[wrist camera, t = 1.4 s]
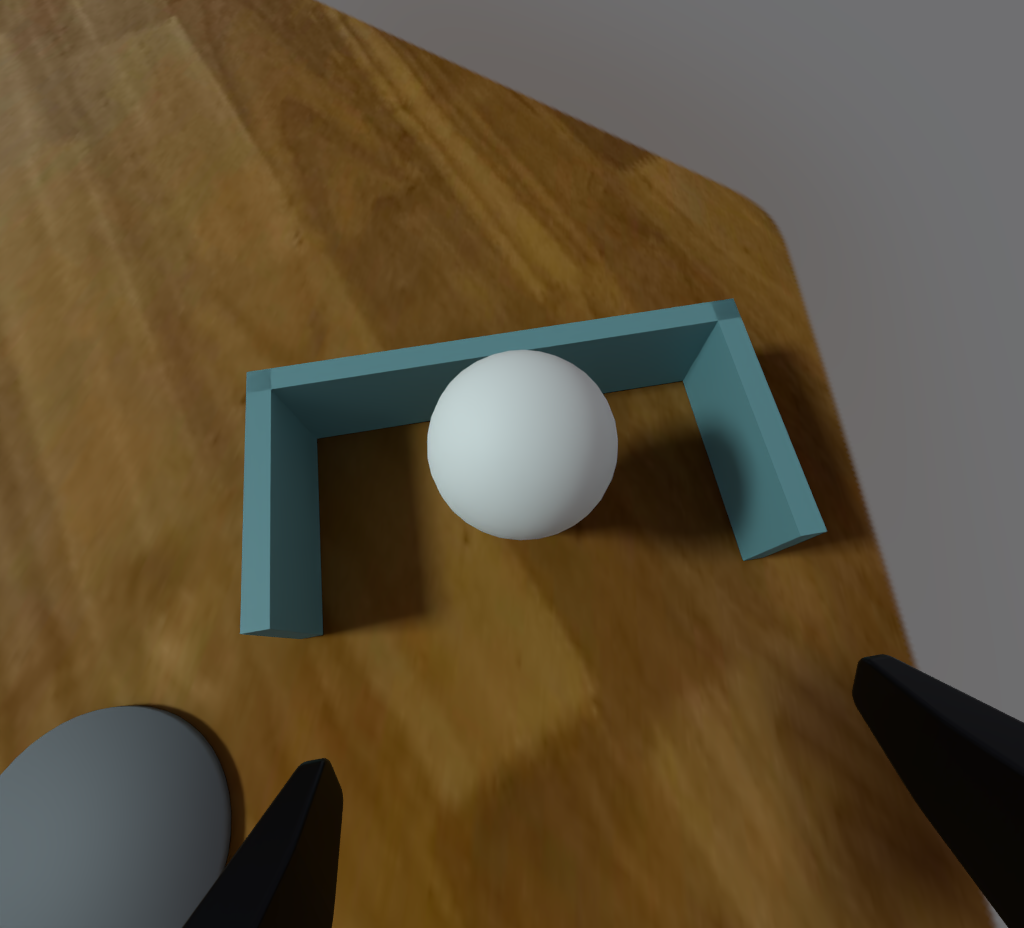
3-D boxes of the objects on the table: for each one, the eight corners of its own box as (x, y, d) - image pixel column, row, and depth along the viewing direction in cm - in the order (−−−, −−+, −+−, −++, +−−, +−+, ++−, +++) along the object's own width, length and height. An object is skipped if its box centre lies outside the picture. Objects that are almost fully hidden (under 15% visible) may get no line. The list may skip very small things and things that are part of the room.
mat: (276, 884, 19) (269, 889, 18) (6, 1103, 17) (-9, 1116, 16) (170, 654, 22) (162, 654, 21) (-70, 817, 20) (-84, 821, 19)
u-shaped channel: (764, 557, 23) (827, 531, 18) (300, 638, 22) (240, 633, 17) (695, 361, 27) (733, 298, 22) (296, 424, 26) (246, 372, 21)
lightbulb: (523, 428, 25) (526, 273, 15) (613, 514, 24) (684, 404, 13) (430, 508, 24) (363, 397, 14) (518, 605, 22) (517, 562, 12)
